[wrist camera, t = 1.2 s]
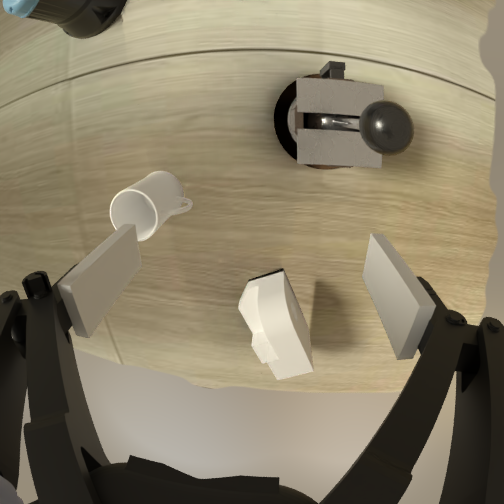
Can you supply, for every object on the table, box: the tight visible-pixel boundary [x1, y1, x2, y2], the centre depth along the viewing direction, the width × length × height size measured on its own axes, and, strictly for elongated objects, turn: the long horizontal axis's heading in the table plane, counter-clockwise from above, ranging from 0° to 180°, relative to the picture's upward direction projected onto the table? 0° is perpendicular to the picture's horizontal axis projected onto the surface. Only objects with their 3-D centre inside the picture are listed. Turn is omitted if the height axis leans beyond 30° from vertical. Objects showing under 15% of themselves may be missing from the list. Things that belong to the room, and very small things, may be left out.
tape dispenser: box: [238, 268, 314, 380], centre depth 53 cm, size 16×10×13 cm, turn 24°
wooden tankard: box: [288, 61, 384, 168], centre depth 35 cm, size 14×12×13 cm
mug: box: [110, 171, 193, 241], centre depth 44 cm, size 12×8×12 cm
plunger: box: [307, 100, 414, 156], centre depth 25 cm, size 7×7×21 cm
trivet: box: [274, 74, 337, 169], centre depth 42 cm, size 16×16×1 cm
